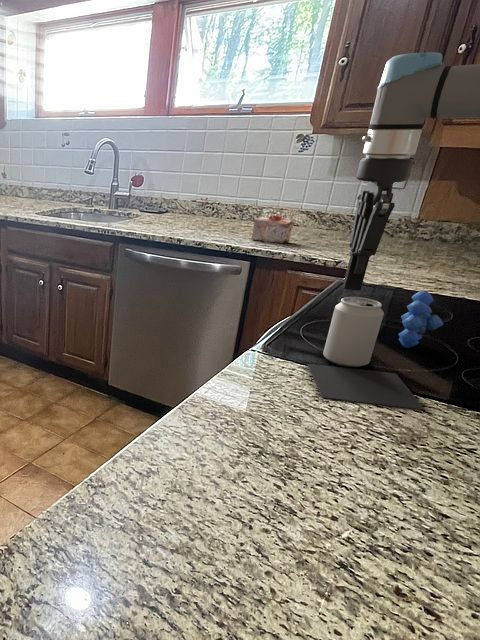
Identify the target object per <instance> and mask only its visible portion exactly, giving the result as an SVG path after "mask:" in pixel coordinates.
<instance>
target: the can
mask: <svg viewBox="0 0 480 640" xmlns="http://www.w3.org/2000/svg"><path fill="white" fill-rule="evenodd" d="M382 306H383V304H382V302H380V301H378V300H375V299H372V298H368V297H362V296H361V297H360V296H346V297H342V298H341V299H340V302H339V303H338V304H336V305H335V307H334V308H333V309H334V310H333V313H332V317H331V322H330V325H329V330H328V333H327V337H326V341H325V345H324V349H323V352H322V354H323V357H324V358H325V359H326V360H327V361H329V362H330V363H332V364H334V365H338V366H340V367H344V368H361V367H364V366H366V365H368V364H370V362H371V358H372V355H373V352H374V350H375V349H374V348H375V345H376V342H377V338H378V335H379V332H380V328H381V325H382V321H383V319H384V315H385V312H384V311H383V309H382Z"/></svg>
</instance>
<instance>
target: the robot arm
mask: <svg viewBox="0 0 480 640" xmlns="http://www.w3.org/2000/svg"><path fill="white" fill-rule="evenodd" d="M382 72H383V73H382V76H381V79H380V83H379V85H377V89H376V90H377V91H376V96H375V100H374V105H373V109H372V113H371V118H370V122H369V126H368V131H367V135H364V136H363V137H362V138H361V139H362V140H361V141H362V143H364V146H363V150H362V154H363V155H365V157H362V158H361V159H360V160H359V164H358V168H357V172H356V176H355V177H356V180H358V181H360V182H366V185H365V188H364V190H362V191H361V193H360V194H358V196H357V198H356V201H357V203H356V210H355V215H354V220H353V226H352V230H351V236H350V241H349V245H348V247H349V248H351V249H350V252H349V256H350V257H349V260H348V265H347V267H346V271H345V276H344V280H343V283H342V287H341V288H342V289H343V290H347V291H361V290H362V287H363V283H364V279H365V276H366V272H367V268H368V265H369V262H370V258H371V257H372V256H375V255H376V254H377V250H378V247H379V245H380V242H381V240H382V237H383V236H384V235H383V234H384V232H385V229H386V226H387V224H388V221H389V218H390V216H391V214H392V212H393V211H394V208H395V206H396V205H395V202H392V201H393V197H394V193H393V186H394V184H395V183H403V182H406V181H407V180H408V178H409V176H410V172H411V168H412V165H413V162H414V161H413V160H412V158H411V156H414V155H416V152H417V149H418V147H419V142H420V139H421V135H422V132H423V126H424V123H425V121H426V119H476V120H480V63H473V64H463V65H443V54H442V53H441V52H435V51H432V52H431V51H429V52H412V53H403V54H398V55H394V56H392V57H391V58H389V59H388V60H387V61H386V63H385V66H384V70H383V71H382Z"/></svg>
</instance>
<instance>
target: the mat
mask: <svg viewBox="0 0 480 640" xmlns="http://www.w3.org/2000/svg"><path fill="white" fill-rule="evenodd" d="M306 365H307V368H308V369H309V372H310V374H311V376H312V378H313V381H314V383H315V385H316V387H317V389H318V391H319V394H320V396H321V398H322V399H326V400H327V399H328V400H333V401H334V400H335V401H343V402H350V403H359V404H367V405H375V406H383V407H389V408H390V407H392V408H400V409H406V410H407V409H408V410H415V411H423V412H424V411H425V410H426V409H425V408H424V407H423V405H422V404H421V403H420V402H419V400H418V399H417V398H416V397H415V395H414V394H413V393H412V391H411V390H410V389H409V388H408V387H407V385H406V384H405V383H404V381H403V380H402V379H401V377H399V375H398V374H397V373H396V372H389V371H378V370H369V369H361V368H360V369H359V368H353V367H344V366H335V365H325V364H324V365H323V364H313V363H307V364H306Z"/></svg>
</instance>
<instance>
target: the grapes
mask: <svg viewBox="0 0 480 640" xmlns="http://www.w3.org/2000/svg"><path fill="white" fill-rule="evenodd" d="M411 300H412V302H411V303H409V304H407V305H406V308H407V310H408V311H407V312H406V313H404V314H402V315H401V316H400V318H401V320H402V321H401V323H402V325H403V327H404V330H402V331H401V332H399V333H398V336H399V338H398V341H399V343H400V344H401V346H402V347H403V348H406V349H410V348H413V347H415V346H417V345H418V344H420V342H419V340H421V339H422V338H423V336H422V334H425V333H426V331H427V330H428V331H435V330H437V329H439V328H440V327H442V326H444V323H443V320H442V319H441V318H440V317H439V316H438V315H437V314H432V313H433V311H432V308H431V307H430V305H431V304H433V302H435V300H434V298H433V296H432V294H431V293H430V292H428V291H427V290H421V291H418V292H416V293H415V294H413V295H412V296H411Z"/></svg>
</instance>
